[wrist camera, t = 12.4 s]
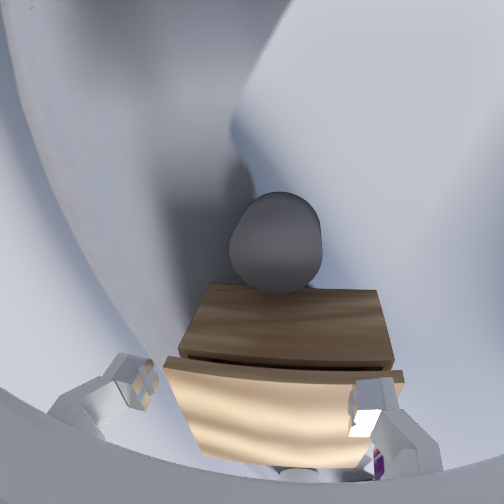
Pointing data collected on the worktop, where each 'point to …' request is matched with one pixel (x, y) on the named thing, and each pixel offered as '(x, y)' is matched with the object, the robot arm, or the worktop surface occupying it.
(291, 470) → the cylindrical container
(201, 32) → the worktop surface
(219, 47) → the worktop surface
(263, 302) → the box
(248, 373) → the lid
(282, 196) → the smooth gray rounded object
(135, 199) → the worktop surface
